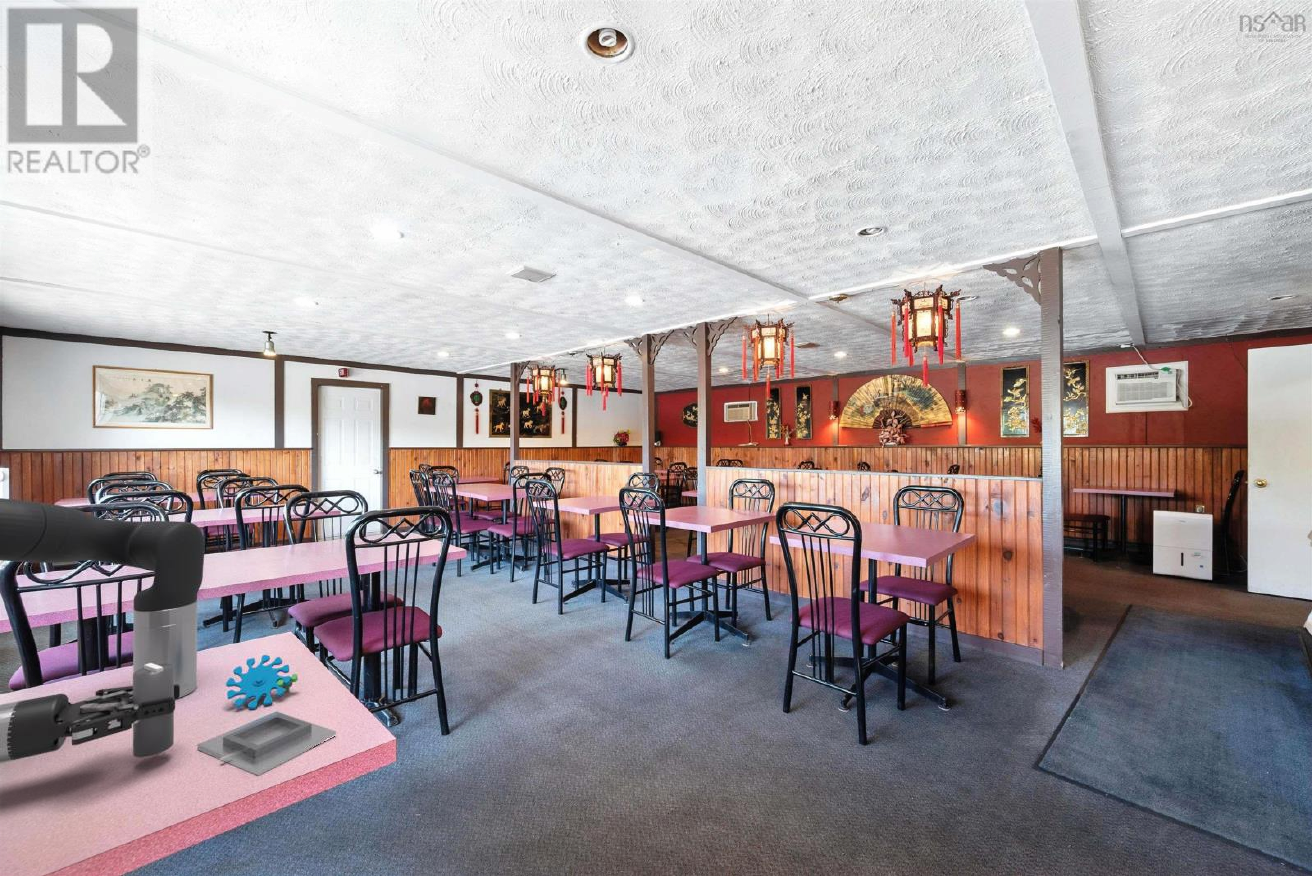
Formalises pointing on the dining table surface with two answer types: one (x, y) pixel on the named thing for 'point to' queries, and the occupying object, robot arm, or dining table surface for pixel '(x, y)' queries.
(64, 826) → the dining table surface
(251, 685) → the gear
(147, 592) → the robot arm
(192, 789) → the dining table surface
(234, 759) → the grey peg base plate
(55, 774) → the dining table surface
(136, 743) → the grey peg
